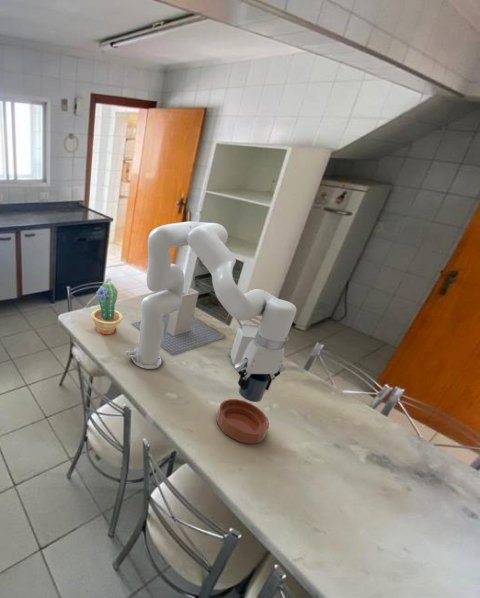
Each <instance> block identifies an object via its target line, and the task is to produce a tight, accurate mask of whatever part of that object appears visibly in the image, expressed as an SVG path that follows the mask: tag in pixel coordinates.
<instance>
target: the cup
mask: <svg viewBox="0 0 480 598" xmlns="http://www.w3.org/2000/svg"><path fill="white" fill-rule="evenodd" d="M246 373H247V371H246V372H245V373H244V374H246ZM269 379H270V378H269V376H268V375H267V374H251V375H250V376H249V377H248V378H247V380H248V383H247V386H246V389H245V390H242V389H241V387H240V386H239V388H238V393H239V395H240V396H241V397H242V398H243V399H245V401H246V400H247V401H248V402H253V403H258V402H261V401H262V399H263V397H264V396H265V392H266V391H267V390H266V387H267V385H268V382H269Z"/></svg>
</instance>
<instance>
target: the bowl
mask: <svg viewBox="0 0 480 598" xmlns="http://www.w3.org/2000/svg"><path fill="white" fill-rule="evenodd" d="M215 417H216V423H217V425H218V426H219V429H221V430H222V432H223V433H224V434H226V435H227V436H229V437H230V438H231V439H233V440H235V441H238V442H240V443H244V444H247V445H249V444H250V445H251V444H252V445H253V444H254V445H255V444H258V443H261V442H262V441H263V440H264V439H265V437H266V436H267V433H268V431H269V429H270V422H269V421H270V420H269V418H268V417H267V416H266V414H265V413H264V412H263V410H261V409H260V408H259V407H258V406H257V405H254V404H252V403H250V402H249V401H246V400H243V399H238V398H229V399H225V400H224V401H222V402H220V405H219V407H218V410H217V413H216V416H215Z"/></svg>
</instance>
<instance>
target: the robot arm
mask: <svg viewBox="0 0 480 598" xmlns="http://www.w3.org/2000/svg"><path fill="white" fill-rule="evenodd" d="M149 233H150V234H149V235H148V237H147V266H146V268H147V269H146V286H147V289H148V290H149V291H151V292H153V293H151V294H149V295H147V296H145V297H144V298H143V300H142V301H141V303H140V312H141V316H140V322H141V325H140V329H139V333H138V339H137V346H136V347H134V349H132V350H125V351H124V354H125V356H128V358H129V359H131V360H132V362H133V364H135V365H136V366H138V367H139V368H142V369H146V370H155V369H158V368H159V367H160V366H161V365H162V362H163V360H162V358H161V356H160V352H161V348H162V346H161V342H162V337H163V331H164V322H163V320H162V318H163V316H166V315H170V313H172V312H174V311H176V310H178V309H179V307H180V306H181V302H182V295H183V293H184V287H185V286H184V285H185V275H184V272H183V269H182V267H180V265H178V264H176V263H172V255H171V251H170V249H175V248H181V247H185V246H189V247H190V249H191V250H192V251H193V252H194V254H195V255H196V256H197V258H198V259H199V261H201V263H202V264H203V265H204V267H205V269H207V271H208V272H209V273H210V275H211V281H212V287H213V292H214V294H215V297H216V298H217V300H218V302H219V303H220V304H221V306H222V307H223V308H224V310H225V311H226V312H227V314H229V315H230V316H231V317H232V318H234V319H235V320H238V321H240V322H246V321H250V320H252V319H255V317H260V316H261V319H260V323H259V324H258V325H259V328H258V331H257V334H256V337H255V339H254V340H251V342H250V343H249V345H248V346H247V348H246V350H245V353H244V355H243V357H242V360H241V362H240V363H238V364H236V365H233V369H235V371H236V373H238V375H239V378H238V381H237V384H238V386H239V388H240V387H241V389H242V390H245V389H246V386H247V383H248V380H247V378H248V377H249V376H250V375H251V374H267V375H268V376H269V378H270V379H269V382H268V385H267V387H266V390H265V391H269V389H270V387H271V384H272V381H274V380H276V378H277V377H278V376H280V375H281V373H283V372H285V371H286V369H287V368H286V367H285V366H284V364H283V359H284V354H285V343H286V342H288V341H289V333H290V330H291V327H292V325H293V322H294V320H295V317H296V314H297V311H298V310H297V307H296V305H295V304H294V303H293V302H290V301H288V300H285V299H281V298H279V297H277V296H274V295H273V294H272V293H270V292H268V291H266V290H263V289H260V288H256V289H255V288H254V289H251V290H248V291H245V292H244V293H243V292H242V290H241V289H240V288H239V287H238V285H237V283H236V281H235V279H234V275H233V271H234V267H235V265H236V262H237V259H236V257H235V255H234V254H233V253H232V252H231V250H230V249H229V248H228V247H227V246H226V243H227V242H228V238H229V234H228V233H229V232H228V230H227V229H226V227H224V226H223V225H222V224H221V223H217V222H202V221H182V222H175V223H168V224H167V223H166V224H164V225H160V226H158V227H156V228H154V229H153V230H152V231H151V232H149ZM246 371H247V373H246V374H244V373H245V372H246Z"/></svg>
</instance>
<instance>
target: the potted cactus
mask: <svg viewBox="0 0 480 598" xmlns="http://www.w3.org/2000/svg"><path fill="white" fill-rule="evenodd" d="M96 298H97V301H98V303H99V307H100V308H97V309H94V310H93V311H92V312H91V319H92V321H93V322H94V323H93V324H94V325H95V327H96V331H97V332H99V333H100V334H103V335H110V334H113V333H114V332H115V329H116V328H117V327H118V326H119V324H120V323H121V322H122V321H123V319H124V318H123V314H122V313H121V312H119V311H118V309H117V310H116V309H115V305H116V302H117V300H118V290H117V288H116V286H115V285H114V284H113V283H112V282H111V281H110V282H108V281H106V282H104V283H102V285H101V286H100V287H99V288H98V290H97V291H96Z"/></svg>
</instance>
